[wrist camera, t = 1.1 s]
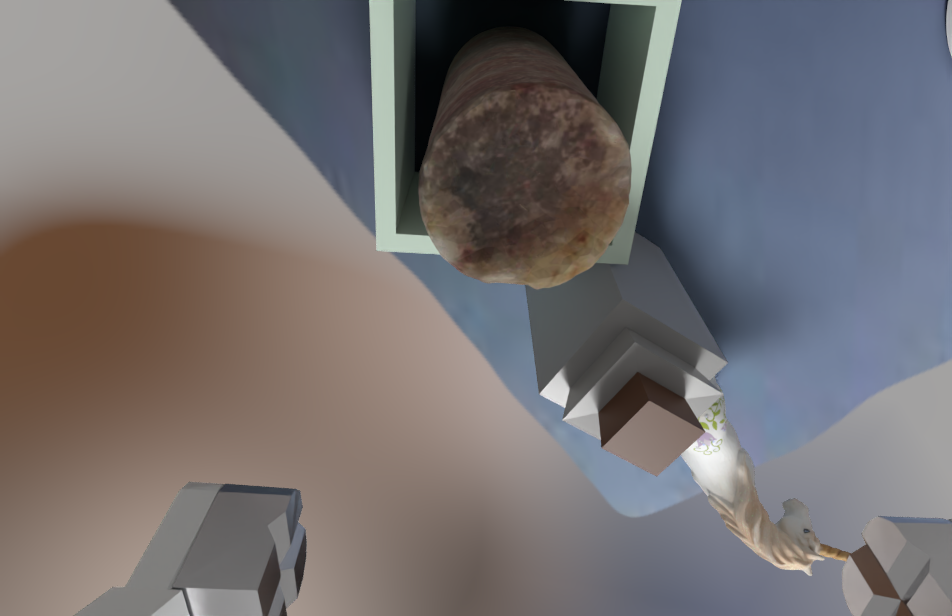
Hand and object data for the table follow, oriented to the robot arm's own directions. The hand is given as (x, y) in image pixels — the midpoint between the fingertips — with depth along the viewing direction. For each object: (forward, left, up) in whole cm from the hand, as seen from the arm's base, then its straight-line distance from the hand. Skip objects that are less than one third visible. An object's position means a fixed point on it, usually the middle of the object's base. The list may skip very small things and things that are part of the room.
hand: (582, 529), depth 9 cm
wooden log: (0, 0, -33) cm, 33 cm away
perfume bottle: (-7, +11, -33) cm, 35 cm away
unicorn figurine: (-18, +20, -33) cm, 43 cm away
